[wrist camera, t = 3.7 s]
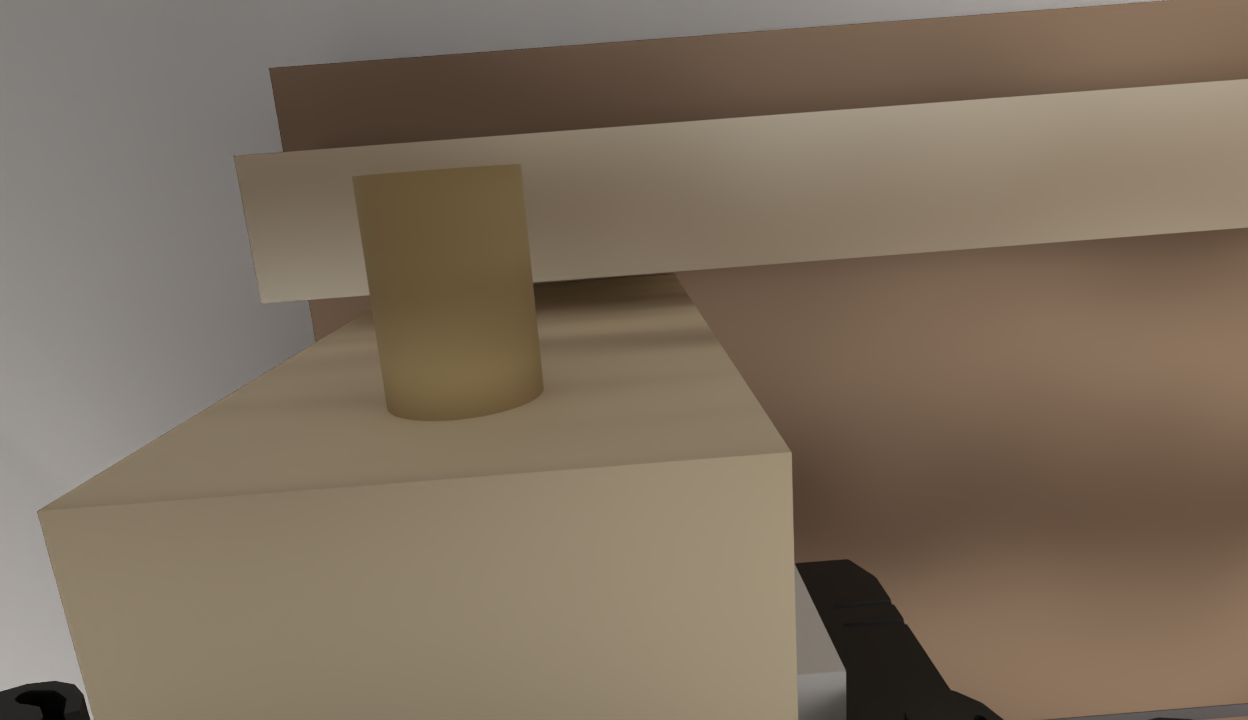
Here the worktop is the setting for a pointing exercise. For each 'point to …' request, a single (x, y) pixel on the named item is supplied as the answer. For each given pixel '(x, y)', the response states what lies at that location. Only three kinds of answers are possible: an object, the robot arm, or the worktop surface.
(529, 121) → the walnut board
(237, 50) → the worktop surface
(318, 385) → the marking gauge
